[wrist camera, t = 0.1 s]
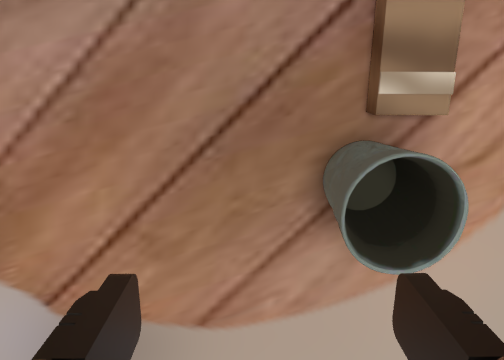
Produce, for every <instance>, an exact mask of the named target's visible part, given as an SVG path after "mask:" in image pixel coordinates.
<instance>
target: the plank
mask: <svg viewBox="0 0 504 360" xmlns="http://www.w3.org/2000/svg"><path fill="white" fill-rule="evenodd" d="M464 4H465V0H376V8H375V19H374V31H373V42H372V53H371V65H370V76H369V87H368V99H367V110H366V112H368V113H371V114H375V115H448V112H449V105H450V99H451V94H453V90H454V83H455V76H456V72H454V71H455V65H456V58H457V51H458V44H459V38H460V31H461V24H462V17H463V10H464Z"/></svg>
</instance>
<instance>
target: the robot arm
mask: <svg viewBox="0 0 504 360" xmlns="http://www.w3.org/2000/svg"><path fill="white" fill-rule="evenodd" d="M393 330H394V333H395V337H396V339H397V341H398V343H399V344H400V346H401V348H402V350H403V351H404V353H405V355H406V356H407V359H408V360H504V343H503V342H502V341H501V340H500V339H499V338H498V337H497V335H496V334H495V333H494V332H493V331H492V330H491V329H490V328H489V327H488V326H487V325H486V324H483V321H482V320H481V319H480V318H479V317H478V316H477V315H476V314H474V311H473V310H472V309H471V308H470V307H469V306H468V305H467V304H466V303H465V302H464V301H463V300H462V299H461V298H459V297H457V296H455V295H454V294H452V293H451V292H449V291H447V290H442V289H440V287H439V286H438V285H437V284H436V283H435V282H434V281H433V279H432V278H431V277H430V276H429V275H428V274H426V273H401V274H399V276H398V279H397V285H396V294H395V302H394V310H393ZM140 331H141V310H140V299H139V289H138V279H137V276H136V274H110V275H108V277H107V278H106V280H105V281H104V283H103V284H102V285H101V287H100V288H99V290H98V291H89V292H88V293H86V294H85V295H84V296H82V297H81V298H79V299H78V300H76V301H75V302H74V304H73V305H72V306H71V308H70V309H69V310H68V312H67V314H66V315H65V316H64V317H63V318H62V320H61V321H60V322H59V326H57V327H56V328H55V329H54V330H53V332H52V333H51V335H50V336H49V337H48V338H47V340H46V341H45V342H44V344H43V345H42V346H41V348H40V349H39V350H38V352H37V353H36V354H35V356H34V357H33V358H32V360H130V359H131V357H132V355H133V352H134V350H135V347H136V344H137V342H138V339H139V336H140Z"/></svg>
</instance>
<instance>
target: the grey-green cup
mask: <svg viewBox="0 0 504 360" xmlns="http://www.w3.org/2000/svg"><path fill="white" fill-rule="evenodd" d="M323 186H324V191H325V194H326V197H327V199H328V202H329V204H330V206H331V207H332V208H333V212H334V215H335V218H336V220H337V222H338V224H339V228H340V230H341V233H342V236H343V238H344V241H345V243H346V245H347V247H348V249H349V250H350V252H351V253H352V255H353V256H354V257H355V258H356V259H357V260H358V261H359V262H361V263H362V264H363V265H365V266H367V267H368V268H370V269H372V270H375V271H378V272H381V273H387V274H398V275H399V274H401V273H414V272H417V271H420V270H423V269H425V268H427V267H430V266H431V265H433V264H435V263H436V262H438V261H439V260H441V259H442V258H443V257H444V256H445V255H446V254H448V253H449V252H450V251H451V249H452V248H453V247H454V245H455V244H456V243H457V242H458V240H459V238H460V236H461V234H462V232H463V229H464V226H465V223H466V220H467V215H468V197H467V193H466V190H465V187H464V184H463V182H462V181H461V179H460V177H459V176H458V174H457V173H456V172H455V171H454V170H453V169H452V168H451V167H450V166H449V165H447V164H446V163H445V162H443V161H442V160H440V159H438V158H436V157H434V156H431V155H427V154H423V153H418V152H413V151H409V150H405V149H400V148H397V147H392V146H389V145H384V144H381V143H378V142H373V141H357V142H353V143H350V144H348V145H346V146H344V147H342V148H341V149H339V150H338V151H337V152H336V153H335V154H334V155H333V156H332V157H331V159H330V160H329V162H328V164H327V166H326V169H325V172H324V176H323Z"/></svg>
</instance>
